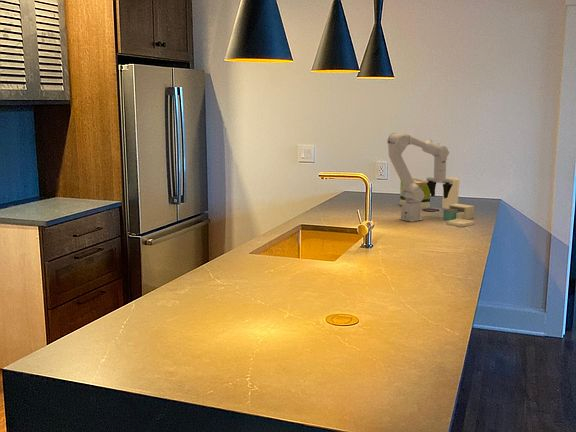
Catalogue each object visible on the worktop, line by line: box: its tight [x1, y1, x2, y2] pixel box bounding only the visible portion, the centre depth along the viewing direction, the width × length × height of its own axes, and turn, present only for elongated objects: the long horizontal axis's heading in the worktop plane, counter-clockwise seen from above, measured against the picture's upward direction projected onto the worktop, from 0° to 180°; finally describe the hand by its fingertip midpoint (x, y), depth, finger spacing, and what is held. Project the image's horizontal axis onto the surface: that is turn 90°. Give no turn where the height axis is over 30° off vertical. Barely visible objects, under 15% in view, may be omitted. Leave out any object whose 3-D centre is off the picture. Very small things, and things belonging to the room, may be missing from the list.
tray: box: [445, 219, 475, 228], centre depth 312 cm, size 11×9×2 cm
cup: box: [441, 177, 460, 210], centre depth 356 cm, size 8×8×16 cm
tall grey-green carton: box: [442, 208, 458, 221], centre depth 323 cm, size 6×4×5 cm, turn 132°
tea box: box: [399, 178, 431, 210], centre depth 357 cm, size 15×10×15 cm, turn 25°
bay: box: [449, 203, 475, 220], centre depth 327 cm, size 12×10×6 cm
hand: (439, 197), depth 326 cm, fingers open, 7 cm apart
